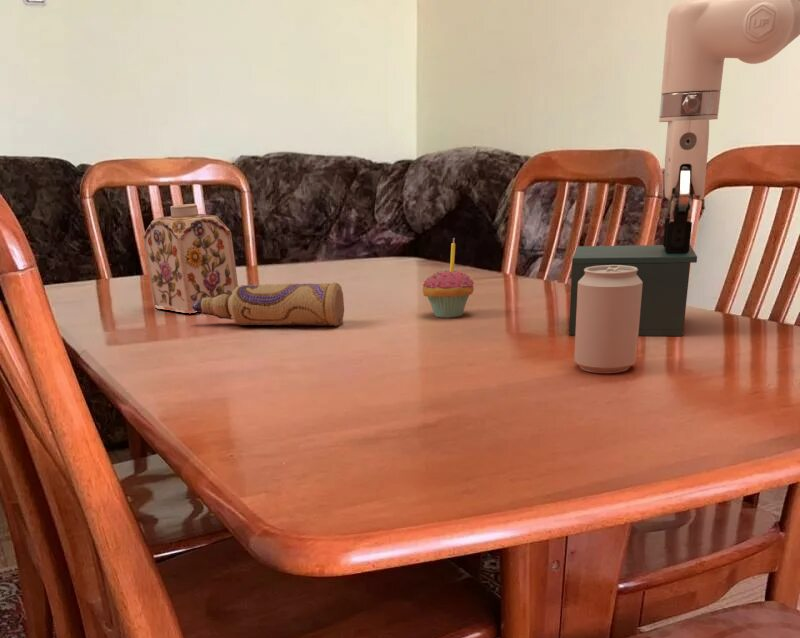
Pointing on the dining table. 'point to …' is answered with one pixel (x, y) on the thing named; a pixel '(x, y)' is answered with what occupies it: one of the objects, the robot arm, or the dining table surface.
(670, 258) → the lid
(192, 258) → the decorative jar
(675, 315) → the chest
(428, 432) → the dining table surface
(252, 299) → the decorative bottle
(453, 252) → the cupcake
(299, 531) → the dining table surface
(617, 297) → the can
